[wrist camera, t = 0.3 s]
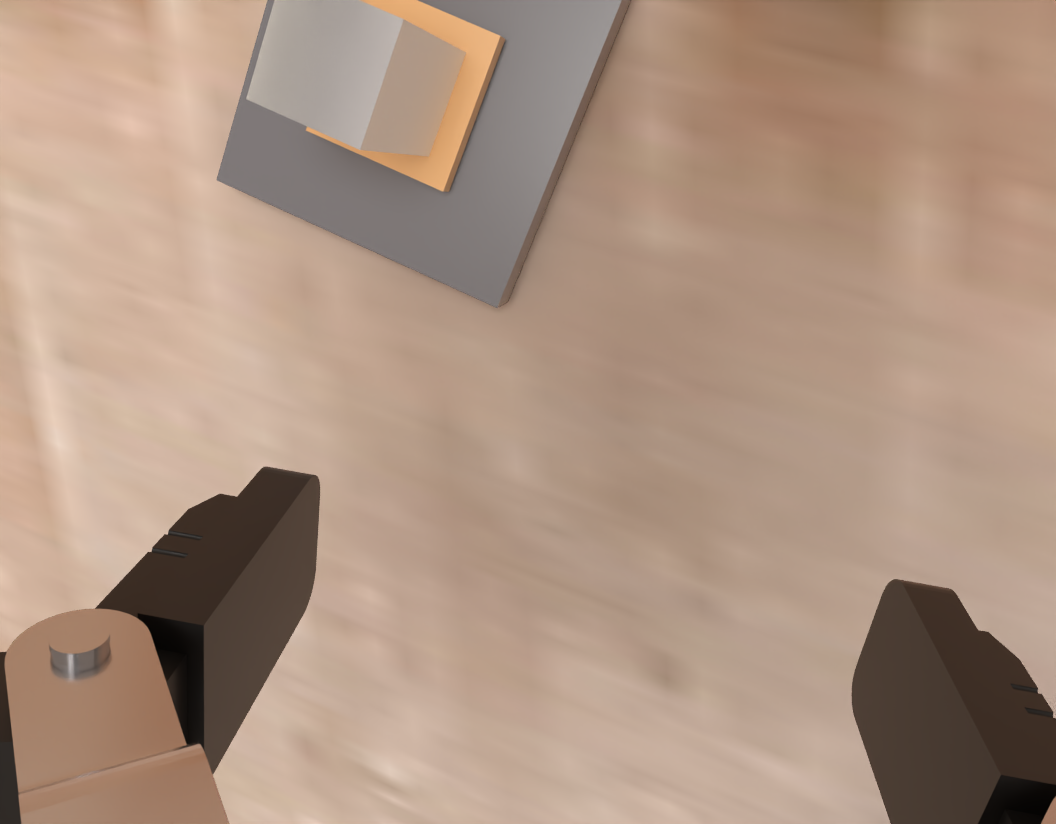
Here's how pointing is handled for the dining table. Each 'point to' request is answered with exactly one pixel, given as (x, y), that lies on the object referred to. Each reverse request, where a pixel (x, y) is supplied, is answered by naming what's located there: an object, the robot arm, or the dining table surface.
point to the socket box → (485, 167)
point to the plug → (378, 79)
